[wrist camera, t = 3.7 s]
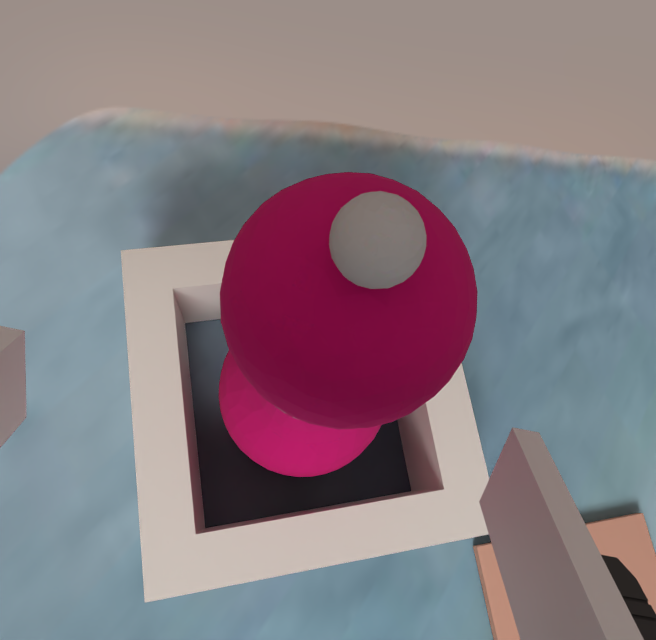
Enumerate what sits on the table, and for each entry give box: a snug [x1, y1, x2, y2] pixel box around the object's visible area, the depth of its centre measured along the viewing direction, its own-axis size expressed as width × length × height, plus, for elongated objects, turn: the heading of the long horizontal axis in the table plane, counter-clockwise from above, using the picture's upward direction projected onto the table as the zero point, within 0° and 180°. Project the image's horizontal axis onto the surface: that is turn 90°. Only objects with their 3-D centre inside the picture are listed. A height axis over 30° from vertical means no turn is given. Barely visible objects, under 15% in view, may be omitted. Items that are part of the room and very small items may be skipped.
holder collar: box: [121, 240, 489, 602], centre depth 26 cm, size 14×14×5 cm
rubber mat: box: [473, 513, 656, 640], centre depth 27 cm, size 9×9×1 cm
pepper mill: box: [219, 172, 477, 477], centre depth 19 cm, size 7×7×20 cm
